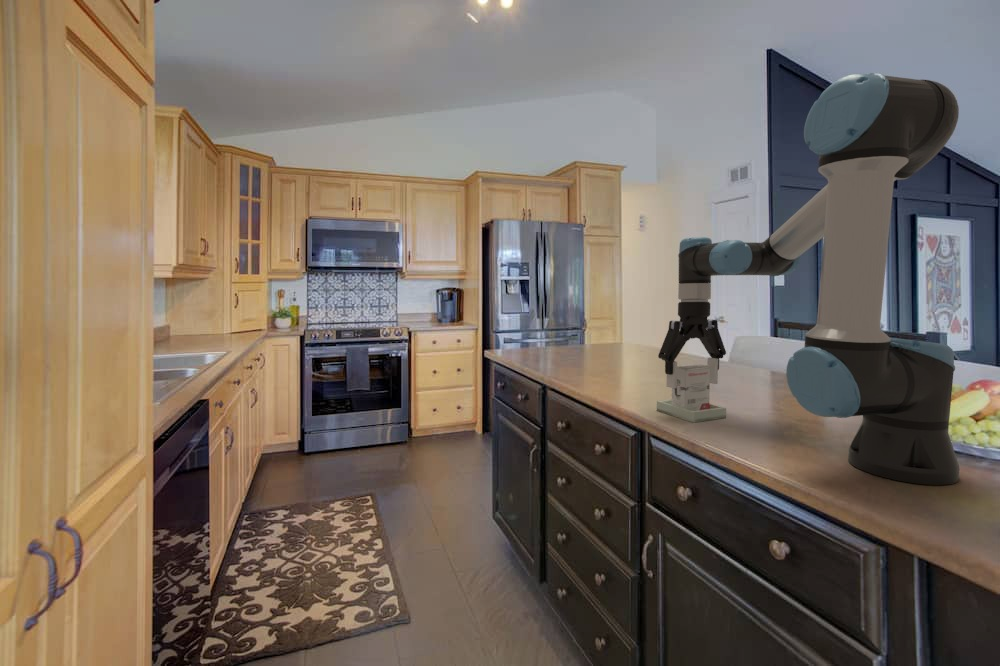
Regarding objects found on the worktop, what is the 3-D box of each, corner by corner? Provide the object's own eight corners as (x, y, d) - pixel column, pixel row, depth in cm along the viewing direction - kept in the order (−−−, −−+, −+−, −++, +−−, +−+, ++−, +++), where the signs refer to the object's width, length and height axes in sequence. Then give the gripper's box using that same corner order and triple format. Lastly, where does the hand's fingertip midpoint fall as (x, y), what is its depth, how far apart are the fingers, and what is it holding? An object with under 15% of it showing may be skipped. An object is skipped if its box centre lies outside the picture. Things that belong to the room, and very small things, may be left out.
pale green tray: (725, 417, 121) (726, 407, 121) (693, 422, 117) (693, 412, 117) (687, 406, 133) (687, 397, 133) (656, 410, 128) (656, 401, 128)
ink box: (694, 407, 129) (695, 363, 128) (710, 412, 124) (711, 365, 123) (669, 411, 125) (671, 365, 124) (685, 416, 121) (686, 368, 120)
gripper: (718, 300, 131) (716, 379, 132) (644, 301, 121) (643, 386, 122) (742, 300, 124) (740, 383, 125) (666, 301, 114) (664, 391, 115)
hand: (692, 385), depth 124 cm, fingers open, 13 cm apart
